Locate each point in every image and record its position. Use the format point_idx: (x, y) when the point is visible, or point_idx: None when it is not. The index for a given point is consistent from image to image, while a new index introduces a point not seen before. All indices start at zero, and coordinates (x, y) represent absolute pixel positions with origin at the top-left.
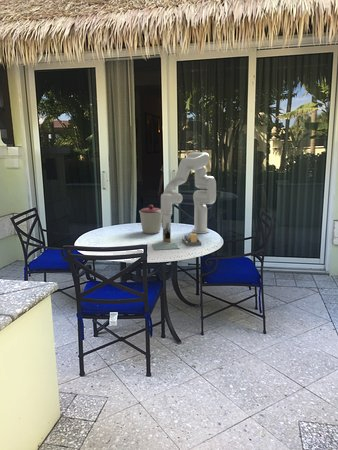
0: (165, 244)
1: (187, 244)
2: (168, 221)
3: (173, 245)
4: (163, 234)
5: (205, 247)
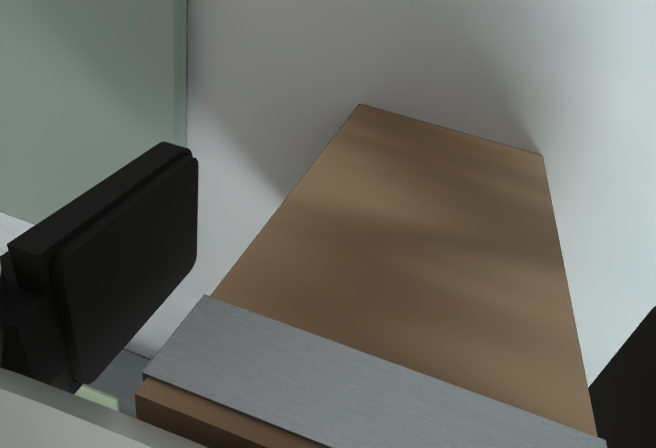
0: (98, 34)
1: None
2: None
3: (24, 160)
4: (410, 245)
5: None
